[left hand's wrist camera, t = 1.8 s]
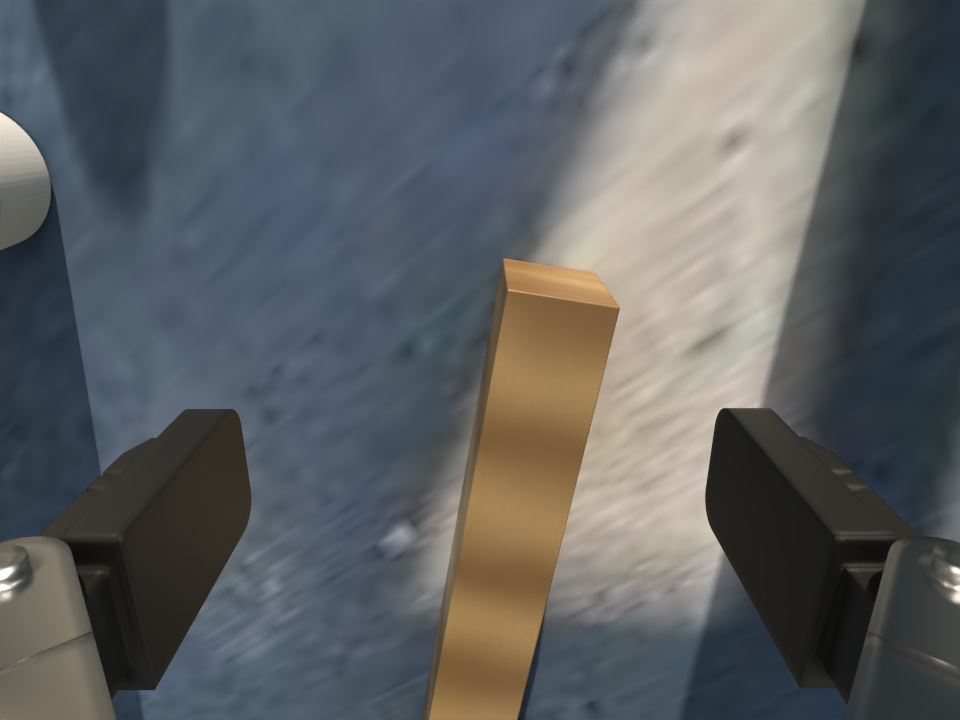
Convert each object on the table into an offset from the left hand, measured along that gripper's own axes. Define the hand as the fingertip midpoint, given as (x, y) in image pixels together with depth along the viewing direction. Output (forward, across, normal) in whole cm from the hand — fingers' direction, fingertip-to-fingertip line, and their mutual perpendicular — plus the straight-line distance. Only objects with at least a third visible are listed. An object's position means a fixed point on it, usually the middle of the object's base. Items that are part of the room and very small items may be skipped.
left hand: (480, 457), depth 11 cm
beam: (+24, -1, -32) cm, 39 cm away
